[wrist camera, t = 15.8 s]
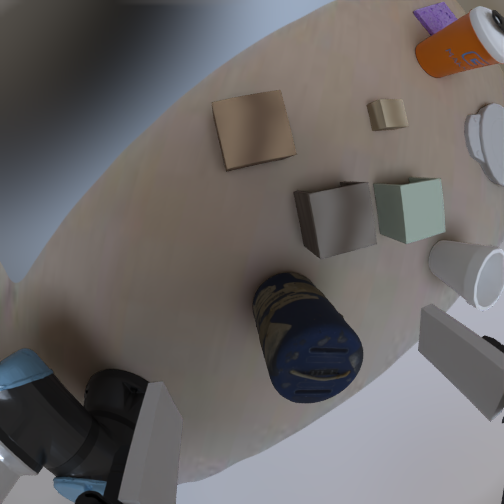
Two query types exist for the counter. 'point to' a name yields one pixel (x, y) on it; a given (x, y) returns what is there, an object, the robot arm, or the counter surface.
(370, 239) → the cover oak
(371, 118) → the maple cube
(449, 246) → the foam cup
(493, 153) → the lid
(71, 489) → the robot arm
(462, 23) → the shaker bottle
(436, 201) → the cover green
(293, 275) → the canister
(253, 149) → the cover walnut
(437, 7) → the sponges
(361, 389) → the counter surface
